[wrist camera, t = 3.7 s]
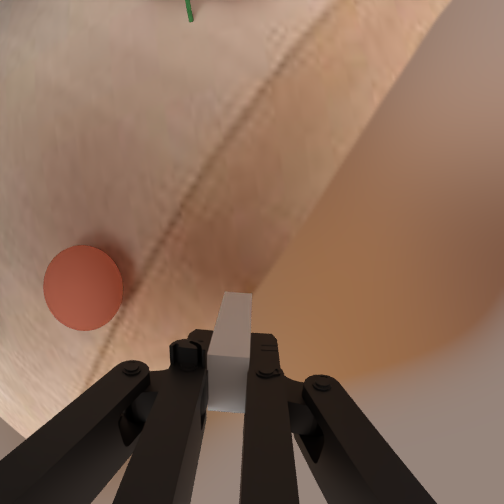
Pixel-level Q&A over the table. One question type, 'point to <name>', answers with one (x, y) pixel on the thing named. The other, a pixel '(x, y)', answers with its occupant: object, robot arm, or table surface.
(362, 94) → the table surface
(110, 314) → the ball
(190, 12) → the lily
